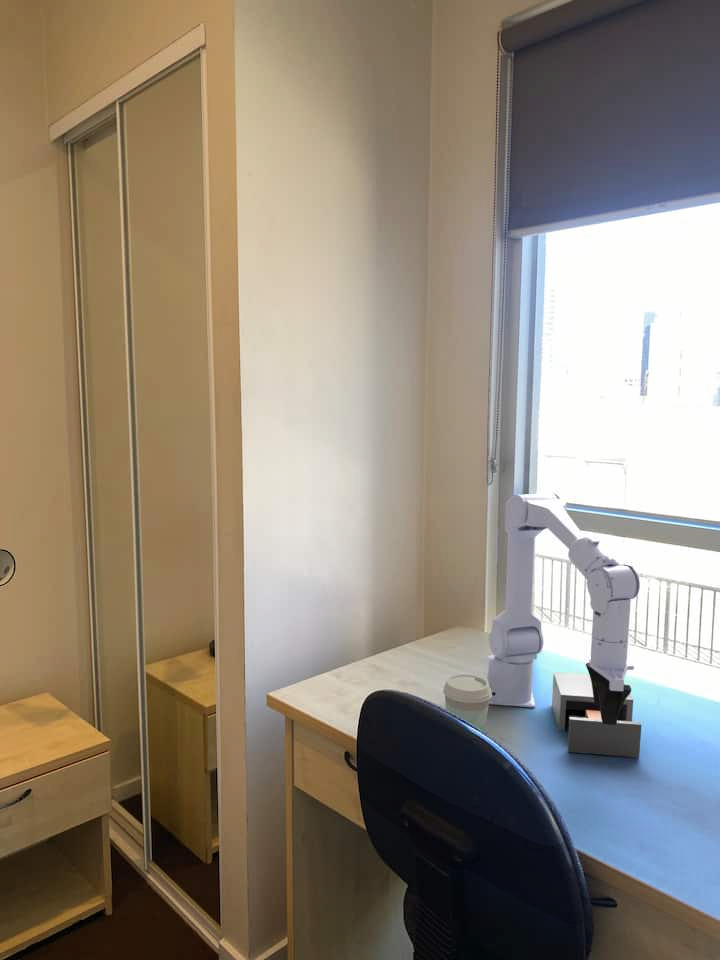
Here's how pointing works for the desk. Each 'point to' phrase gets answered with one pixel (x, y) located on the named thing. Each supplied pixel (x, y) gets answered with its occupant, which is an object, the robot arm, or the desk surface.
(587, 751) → the tray
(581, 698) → the player housing
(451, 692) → the coffee cup
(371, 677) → the desk surface
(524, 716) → the desk surface
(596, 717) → the terracotta block
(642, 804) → the desk surface
